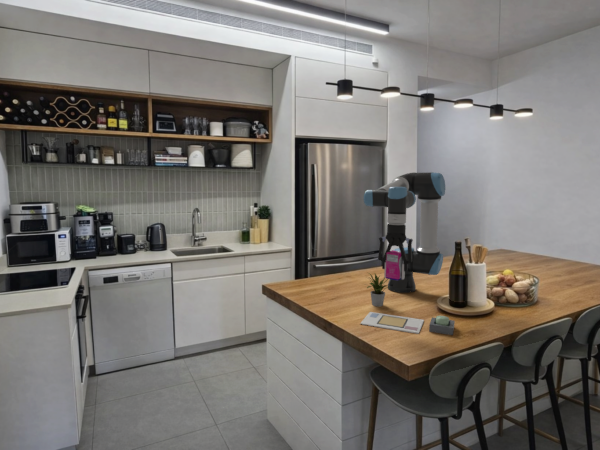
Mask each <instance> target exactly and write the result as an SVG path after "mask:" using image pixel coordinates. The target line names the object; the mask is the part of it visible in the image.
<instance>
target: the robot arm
mask: <svg viewBox="0 0 600 450" xmlns="http://www.w3.org/2000/svg"><path fill="white" fill-rule="evenodd" d="M443 175H444V174H442V173H441V172H432V171H431V172H409V173H405V174H401V175H399V176H396V177H395V178H393V179H392V180H391V182H389V183H387V184H385V185H383V186H381V187H379V188H377V189H367V190H365V192H364V194H363V204H364V205H365V206H366V207H372V208H373V207H374V208H375V207H377V208H387V217H386V218H387V223H388V224H386V235H385V236H380V237H379V238H378V239H379V243H380V244H379V248H378V249H379V251H378V255H377V258H378V259H377V260H379V261H381V263H382V264H381V265H382V266H381V267H382V270H384V271H383V272H384V273H383V274H384V277H385V279H387V278H386V255H387V252H389V251H392V247H397V248H394V249H393V250H394V251H401V255H402V258H403V261H404V263H403V264H402V279H400V280H398V281H397V280H392V279H388V283H387V287H390V288H387V289H388V290H389V291H392V292H396V293H400V294H401V293H405V294H407V293H413V292H416V289H417V287H416V282H415V279H414V273H415V274H416V273H417V274H424V275H429V276H431V275H432V276H437V275H439V274H440V272H441V270H442V267H443V262H444V254H443V253H440V252H441V251H440V250H441V249H440V248H439V247H438V219H439V218H438V215H439V202H440V201H441V200H442V197H443V196H445V194H446V182H445V181H446V180H445V177H444V176H443ZM416 196H417V197H416ZM417 200H418V201H419V202H420V221H419V223H420V225H419V226H420V228H419V229H420V230H419V246H418V247H417V249H416V250H415V248H414V247H412V245H413V241H414V240H413V238H409V237H407V236H406V229H407V228H406V223H407V209H409V208H411V207H413V206H414V205H415V204H416V201H417ZM405 241H406V244H407V247H404V243H405ZM385 242H388V244H387V247H386V250H385V253H384V249H385V248H384V247H385ZM384 277H383V278H384Z"/></svg>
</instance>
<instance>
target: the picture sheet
mask: <svg viewBox="0 0 600 450" xmlns="http://www.w3.org/2000/svg"><path fill="white" fill-rule="evenodd" d="M424 322H425V319H421V318H414V317H408V316H400V315H394V314H386V313H383V312H382V313H381V312H380V313H379V312H375V311H374V312H373V311H369V312H368V313H367V315H366V316H365V317H364V318H363V319H362V320H361V322H360V323H359V325H361V324H362V326H367V325H368V326H370V327H373V326H374V328H380V329H387V330H393V331H398V332H404V333H410V334H411V333H412V334H416V335H419V334H420V332H421V329H422V327H423V325H424ZM368 326H367V327H368Z"/></svg>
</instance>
